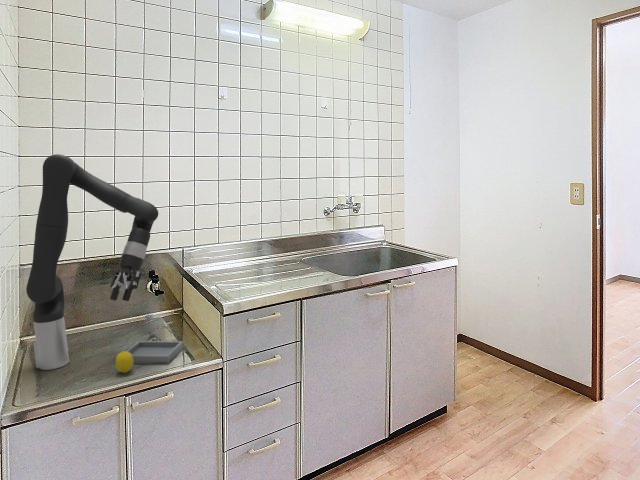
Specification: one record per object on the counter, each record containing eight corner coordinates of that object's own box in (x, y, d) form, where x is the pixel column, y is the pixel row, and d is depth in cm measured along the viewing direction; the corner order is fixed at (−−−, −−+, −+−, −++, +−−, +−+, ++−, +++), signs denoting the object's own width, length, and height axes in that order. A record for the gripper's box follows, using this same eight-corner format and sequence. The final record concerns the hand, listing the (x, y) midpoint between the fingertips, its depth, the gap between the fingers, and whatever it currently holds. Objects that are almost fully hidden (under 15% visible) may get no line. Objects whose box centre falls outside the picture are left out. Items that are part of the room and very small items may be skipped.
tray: (119, 364, 152) (119, 356, 151) (139, 348, 166) (138, 341, 165) (168, 364, 150) (167, 356, 150) (183, 348, 164) (183, 341, 164)
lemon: (127, 377, 141) (125, 354, 140) (113, 376, 142) (110, 353, 141) (137, 370, 146) (135, 348, 145) (123, 369, 148) (121, 347, 146)
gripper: (113, 253, 154) (98, 297, 149) (134, 252, 145) (119, 298, 140) (132, 260, 160) (118, 302, 154) (153, 258, 151) (139, 303, 146)
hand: (119, 300), depth 147 cm, fingers open, 8 cm apart
